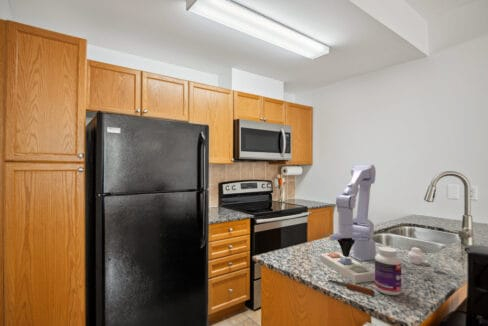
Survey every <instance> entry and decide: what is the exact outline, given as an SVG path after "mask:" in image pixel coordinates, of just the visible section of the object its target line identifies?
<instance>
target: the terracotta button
mask: <svg viewBox="0 0 488 326" xmlns="http://www.w3.org/2000/svg"><path fill="white" fill-rule="evenodd" d="M329 253H330V254H329V257H331V258H333V259H334V258H340V255H339V254H337V253H336V252H329Z"/></svg>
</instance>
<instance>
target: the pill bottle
mask: <svg viewBox="0 0 488 326" xmlns="http://www.w3.org/2000/svg"><path fill="white" fill-rule="evenodd" d="M397 254H398V253H397V249H396V248H393V247H390V246H379V247H378V253H377V254H376V256H375V259H374V271H375V280H374V286H375V289H376V290H377V291H378V292H380V293H382V294H384V295H388V296H399V295H400V294H401V293H402V288H403V287H402V260H401V258H400V257H399V256H398V255H397Z"/></svg>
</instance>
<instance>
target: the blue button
mask: <svg viewBox="0 0 488 326" xmlns="http://www.w3.org/2000/svg"><path fill="white" fill-rule="evenodd" d="M351 259H352V258H351ZM351 259H350V257H349V258H346V257H342V258H340V263H341V264H343V265H352V260H353V259H352V260H351Z"/></svg>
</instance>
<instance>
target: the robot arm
mask: <svg viewBox="0 0 488 326" xmlns="http://www.w3.org/2000/svg"><path fill="white" fill-rule="evenodd" d="M350 174H351V178H350V181H349V183H347V184H346V185H345V187H344V188H343V191H342V192H341V194H339V195H337V197H336V199H335V206H336V211H337V213H338V216H337V217H338V219H337V221H338V232H337V233H333V234H329V240H331V241H333V242H334V241H337V242H338V244H339V246H340V248H341V249H340V250H341V252H342V253H341V254H343V256H345V257H349V258H350V257H351V258H353V259H355V260H357V261H361V262H362V261H363V262H364V261H371V260H375V256H376V255H377V254H376V252H377V251H376V250H377V249H376V246H377V245H376V241H375V240H374V236H375V228H374V227H375V225H374V222H372V221H371V220H370V219H369V206H370V196H371V195H370V194H371V189H372V187H371V186H372V184H375V181H376V167H375V165H374V164H353V165H352V166H351V168H350ZM357 196H358V199H357ZM357 200H358V201H357ZM356 203H357V210H356V217H355V218H354V209H355V208H356ZM352 247H353V248H352ZM351 250H352V253H351Z"/></svg>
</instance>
